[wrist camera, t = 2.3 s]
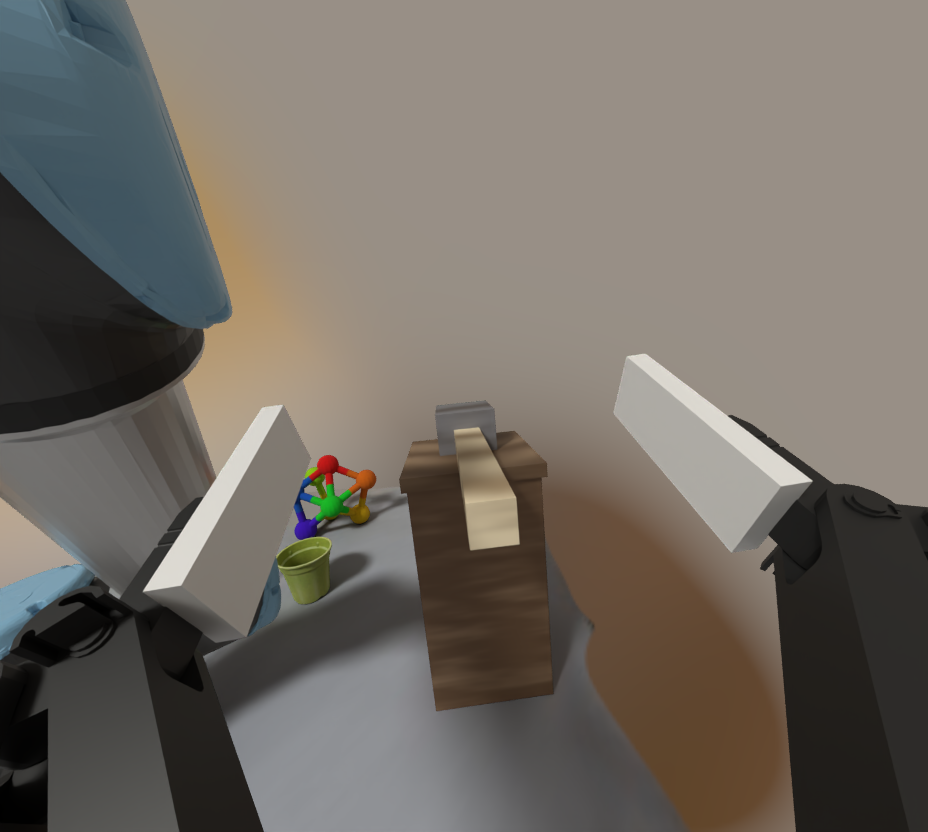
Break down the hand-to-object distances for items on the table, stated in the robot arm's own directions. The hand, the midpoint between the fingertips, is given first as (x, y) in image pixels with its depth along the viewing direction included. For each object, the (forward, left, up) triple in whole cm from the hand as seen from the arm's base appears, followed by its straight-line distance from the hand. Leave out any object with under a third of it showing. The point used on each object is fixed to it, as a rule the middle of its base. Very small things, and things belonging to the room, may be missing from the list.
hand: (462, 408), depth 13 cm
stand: (-22, +14, -38) cm, 46 cm away
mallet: (-16, +11, -9) cm, 21 cm away
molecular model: (-74, +5, -39) cm, 83 cm away
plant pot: (-52, -4, -39) cm, 65 cm away
